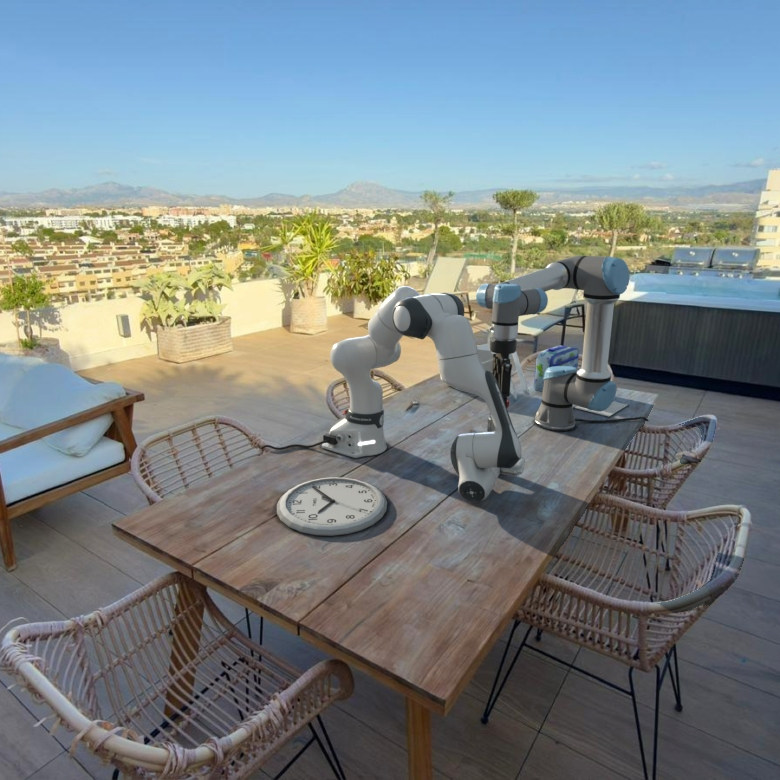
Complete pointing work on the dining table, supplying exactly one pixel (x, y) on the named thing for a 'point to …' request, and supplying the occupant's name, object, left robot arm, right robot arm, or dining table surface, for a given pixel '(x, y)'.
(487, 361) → the white plastic object
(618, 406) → the invitation card
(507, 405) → the lid
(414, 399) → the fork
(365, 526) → the wall clock
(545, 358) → the lunch box
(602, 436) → the dining table surface
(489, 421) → the jar
